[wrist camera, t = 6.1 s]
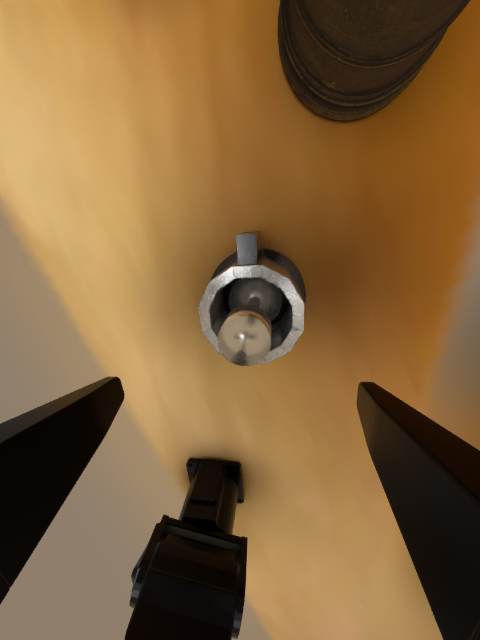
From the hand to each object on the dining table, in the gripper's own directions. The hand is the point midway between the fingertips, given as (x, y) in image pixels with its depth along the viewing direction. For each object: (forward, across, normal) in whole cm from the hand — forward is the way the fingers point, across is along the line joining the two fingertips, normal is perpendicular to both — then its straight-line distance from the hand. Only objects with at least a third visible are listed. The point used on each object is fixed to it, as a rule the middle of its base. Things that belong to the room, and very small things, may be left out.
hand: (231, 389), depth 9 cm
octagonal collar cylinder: (+13, 0, 0) cm, 13 cm away
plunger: (+12, 0, 0) cm, 12 cm away
